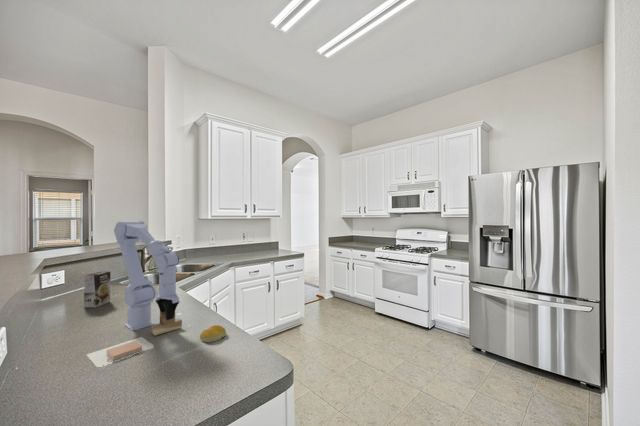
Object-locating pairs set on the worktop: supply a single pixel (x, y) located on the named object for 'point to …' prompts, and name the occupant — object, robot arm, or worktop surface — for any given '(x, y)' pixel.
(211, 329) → the bread roll
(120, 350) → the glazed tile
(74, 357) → the worktop surface
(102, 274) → the coffee box
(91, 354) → the rubber mat
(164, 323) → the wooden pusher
